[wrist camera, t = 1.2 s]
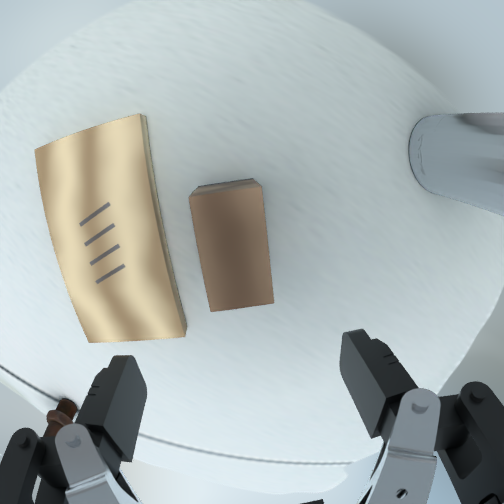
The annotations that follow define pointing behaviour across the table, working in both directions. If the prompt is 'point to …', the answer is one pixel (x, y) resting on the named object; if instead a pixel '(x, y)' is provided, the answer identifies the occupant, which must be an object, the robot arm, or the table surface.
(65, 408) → the bolt
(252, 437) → the table surface
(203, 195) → the block
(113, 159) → the pine board
